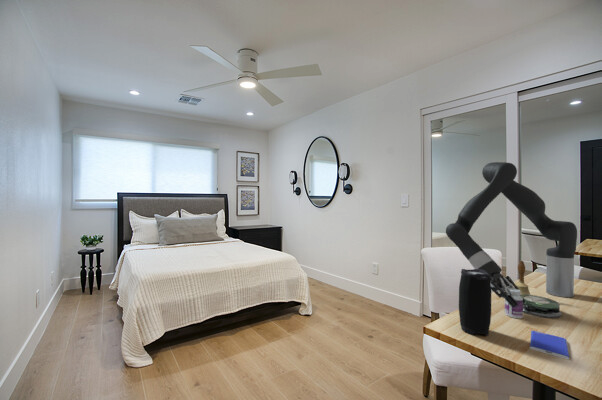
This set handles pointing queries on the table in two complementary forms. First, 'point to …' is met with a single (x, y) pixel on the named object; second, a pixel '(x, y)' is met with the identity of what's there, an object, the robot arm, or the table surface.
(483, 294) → the portable speaker
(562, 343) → the hard drive
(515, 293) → the pill bottle
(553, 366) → the table surface
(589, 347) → the table surface
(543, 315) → the levelling base
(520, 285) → the hand bell
